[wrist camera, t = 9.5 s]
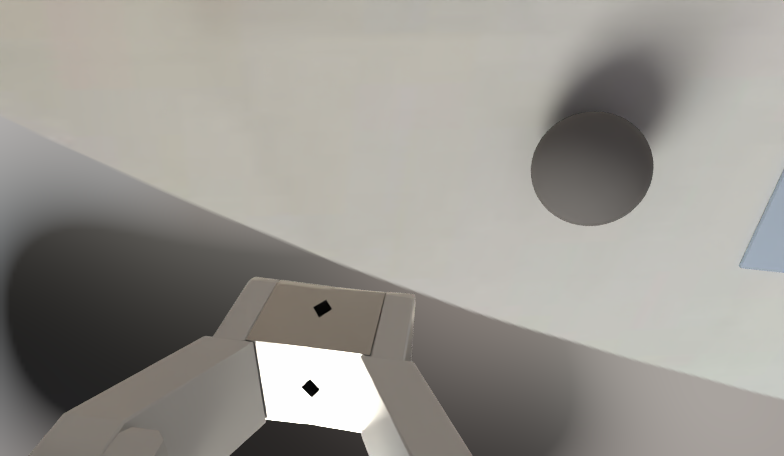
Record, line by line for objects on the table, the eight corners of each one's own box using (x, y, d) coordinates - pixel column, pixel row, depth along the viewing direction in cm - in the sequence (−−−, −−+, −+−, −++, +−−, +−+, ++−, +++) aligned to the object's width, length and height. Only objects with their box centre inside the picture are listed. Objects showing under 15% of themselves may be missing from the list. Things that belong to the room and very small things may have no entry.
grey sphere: (688, 161, 20) (664, 109, 24) (552, 127, 21) (553, 82, 25) (628, 261, 23) (617, 200, 28) (513, 230, 24) (519, 175, 28)
